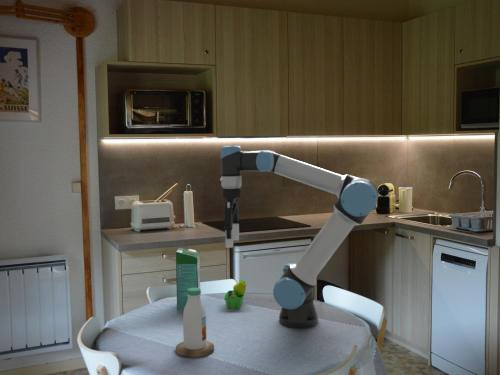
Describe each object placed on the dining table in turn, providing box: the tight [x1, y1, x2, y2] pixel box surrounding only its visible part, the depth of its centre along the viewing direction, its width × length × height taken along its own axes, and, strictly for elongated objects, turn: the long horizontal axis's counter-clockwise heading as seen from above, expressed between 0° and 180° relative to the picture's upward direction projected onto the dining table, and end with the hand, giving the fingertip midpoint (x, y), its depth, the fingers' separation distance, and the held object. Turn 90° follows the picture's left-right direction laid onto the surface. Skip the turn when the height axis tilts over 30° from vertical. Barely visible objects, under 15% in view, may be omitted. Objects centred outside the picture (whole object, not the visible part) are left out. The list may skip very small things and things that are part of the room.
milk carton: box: [175, 247, 201, 311], centre depth 232 cm, size 9×9×25 cm
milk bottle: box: [182, 287, 207, 350], centre depth 184 cm, size 8×8×20 cm
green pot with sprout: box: [223, 279, 247, 310], centre depth 233 cm, size 11×9×11 cm
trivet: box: [175, 340, 215, 359], centre depth 185 cm, size 13×13×1 cm
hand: (232, 243), depth 203 cm, fingers open, 13 cm apart
